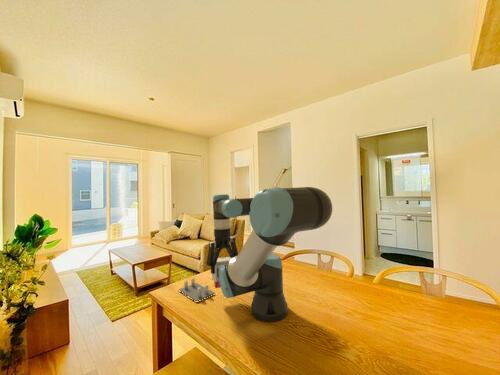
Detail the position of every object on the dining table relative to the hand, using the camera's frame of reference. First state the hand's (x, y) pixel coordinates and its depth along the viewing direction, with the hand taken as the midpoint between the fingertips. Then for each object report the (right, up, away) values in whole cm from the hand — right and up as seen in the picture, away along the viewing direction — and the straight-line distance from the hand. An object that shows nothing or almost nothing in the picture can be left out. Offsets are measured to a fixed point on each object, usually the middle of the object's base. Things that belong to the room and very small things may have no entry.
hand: (223, 276), depth 98 cm
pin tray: (-15, -11, +8) cm, 20 cm away
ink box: (0, -4, 0) cm, 4 cm away
